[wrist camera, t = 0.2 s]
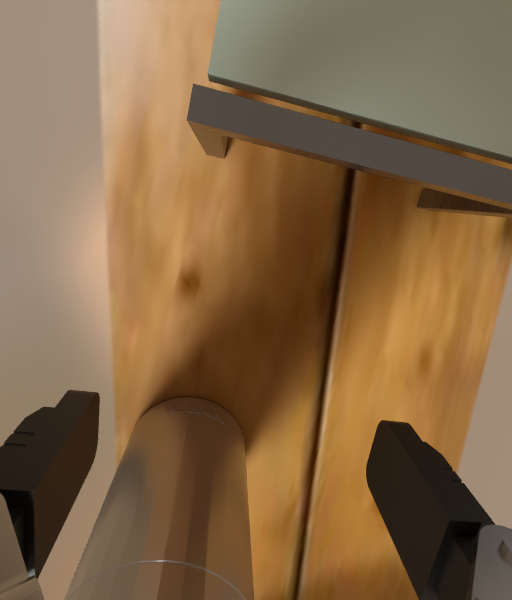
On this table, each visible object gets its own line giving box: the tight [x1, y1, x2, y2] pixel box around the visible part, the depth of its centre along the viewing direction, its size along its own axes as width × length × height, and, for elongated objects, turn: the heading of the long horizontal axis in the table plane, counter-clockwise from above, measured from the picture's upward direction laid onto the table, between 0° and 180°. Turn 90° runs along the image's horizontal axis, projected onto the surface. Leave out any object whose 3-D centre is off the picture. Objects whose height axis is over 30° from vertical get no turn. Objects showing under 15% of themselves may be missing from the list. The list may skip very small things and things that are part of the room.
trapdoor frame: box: [187, 84, 512, 218], centre depth 19 cm, size 15×16×13 cm
